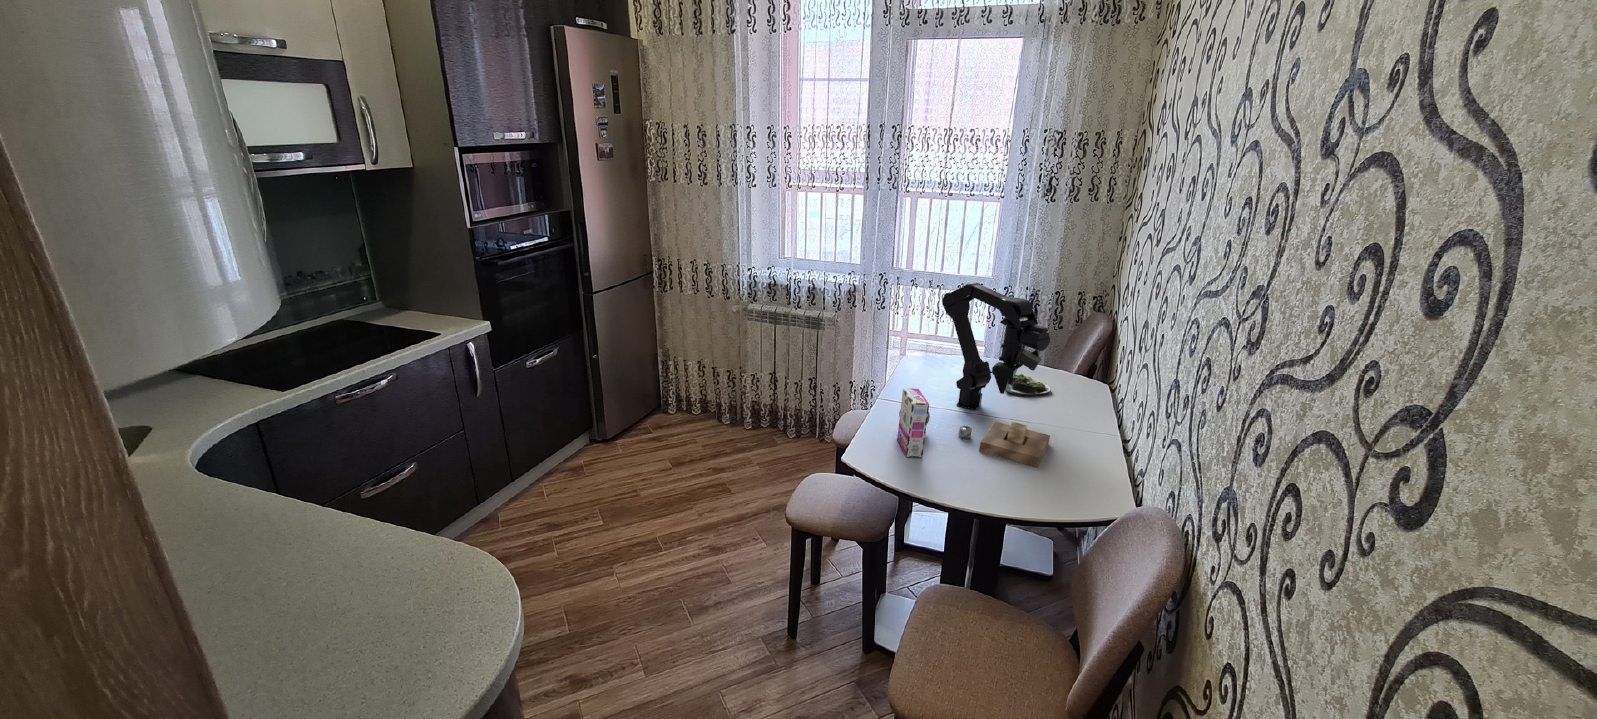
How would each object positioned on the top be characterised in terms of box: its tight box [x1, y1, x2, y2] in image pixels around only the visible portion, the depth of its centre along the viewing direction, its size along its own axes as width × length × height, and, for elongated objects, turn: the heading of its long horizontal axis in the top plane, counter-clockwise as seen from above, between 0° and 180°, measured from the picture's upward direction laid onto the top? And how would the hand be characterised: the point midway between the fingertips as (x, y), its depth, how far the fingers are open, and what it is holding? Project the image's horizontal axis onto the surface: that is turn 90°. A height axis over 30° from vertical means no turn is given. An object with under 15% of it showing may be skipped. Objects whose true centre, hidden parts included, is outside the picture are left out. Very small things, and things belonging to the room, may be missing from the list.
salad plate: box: [1005, 373, 1052, 398], centre depth 222 cm, size 19×18×5 cm
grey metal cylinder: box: [957, 425, 973, 441], centre depth 182 cm, size 4×4×3 cm
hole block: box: [978, 420, 1051, 468], centre depth 177 cm, size 16×16×3 cm
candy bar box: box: [897, 388, 930, 459], centre depth 172 cm, size 11×5×16 cm, turn 5°
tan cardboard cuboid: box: [1007, 421, 1028, 445], centre depth 177 cm, size 4×4×7 cm
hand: (1005, 388), depth 191 cm, fingers open, 9 cm apart
